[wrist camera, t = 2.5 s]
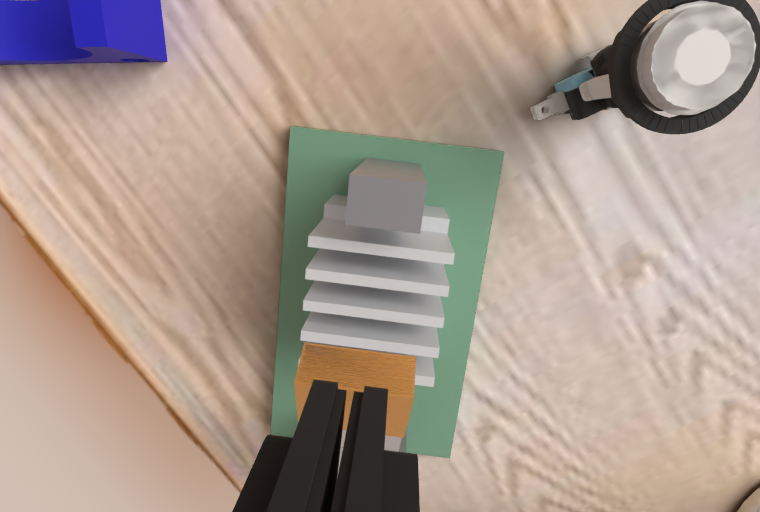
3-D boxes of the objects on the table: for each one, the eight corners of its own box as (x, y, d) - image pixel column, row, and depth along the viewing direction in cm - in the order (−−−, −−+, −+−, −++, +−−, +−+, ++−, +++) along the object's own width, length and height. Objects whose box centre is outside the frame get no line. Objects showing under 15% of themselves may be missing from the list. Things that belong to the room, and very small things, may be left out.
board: (500, 150, 28) (570, 172, 16) (448, 448, 34) (471, 629, 22) (294, 126, 29) (212, 128, 17) (274, 425, 34) (201, 592, 22)
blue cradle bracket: (158, -26, 27) (91, -66, 21) (168, 62, 28) (107, 46, 23) (-51, -21, 28) (-171, -58, 22) (-32, 65, 29) (-142, 51, 23)
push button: (546, 156, 28) (617, 174, 19) (511, 67, 27) (568, 38, 18) (660, 103, 27) (799, 94, 18) (629, 9, 26) (759, -57, 17)
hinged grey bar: (418, 355, 12) (415, 401, 11) (374, 548, 24) (371, 577, 23) (302, 340, 12) (291, 384, 11) (316, 540, 24) (311, 569, 23)
